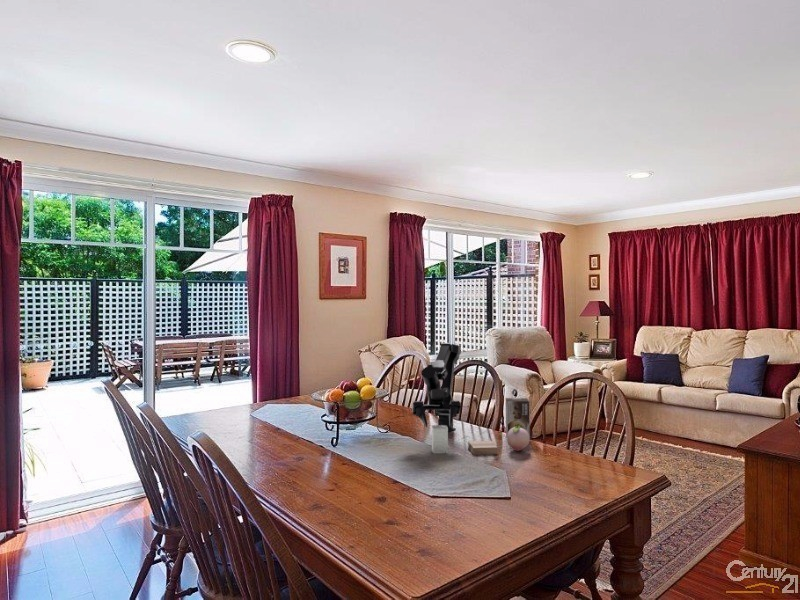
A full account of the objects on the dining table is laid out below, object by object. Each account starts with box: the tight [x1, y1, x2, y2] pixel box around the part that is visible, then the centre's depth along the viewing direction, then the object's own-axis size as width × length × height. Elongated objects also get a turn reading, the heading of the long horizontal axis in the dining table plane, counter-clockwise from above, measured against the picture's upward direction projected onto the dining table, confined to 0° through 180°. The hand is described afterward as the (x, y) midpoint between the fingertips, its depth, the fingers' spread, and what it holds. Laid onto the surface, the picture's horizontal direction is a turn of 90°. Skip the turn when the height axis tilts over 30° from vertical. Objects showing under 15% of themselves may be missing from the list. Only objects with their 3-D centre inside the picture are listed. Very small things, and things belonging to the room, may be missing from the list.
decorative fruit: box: [506, 425, 530, 452], centre depth 192 cm, size 9×8×10 cm
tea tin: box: [431, 424, 449, 454], centre depth 192 cm, size 4×6×10 cm
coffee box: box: [505, 397, 531, 441], centre depth 211 cm, size 9×6×16 cm
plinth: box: [467, 440, 498, 456], centre depth 193 cm, size 9×9×2 cm
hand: (438, 426), depth 194 cm, fingers open, 9 cm apart
